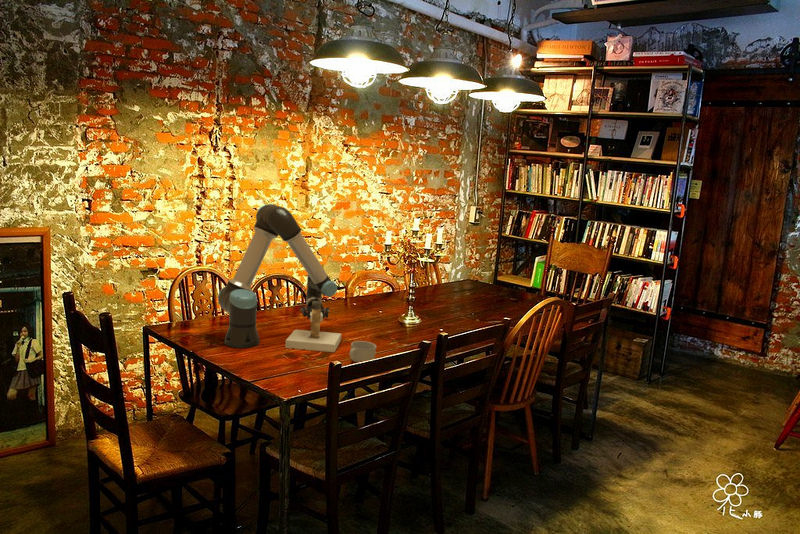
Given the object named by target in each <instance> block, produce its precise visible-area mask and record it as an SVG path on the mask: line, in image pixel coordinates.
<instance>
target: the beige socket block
mask: <svg viewBox="0 0 800 534" xmlns="http://www.w3.org/2000/svg"><path fill="white" fill-rule="evenodd" d="M310 335H311V330H306V329H294V330H293V331H292V333H291V334H290V335H289V336H288V337H287V338H286V339H285V347H284V348H286V349H292V348H294V349H296V350H303V349H305V350H304V351H307V350H308V351H315V352H317V351H318V352H325V353H335V352H336V351H337V348H338V346H339V345H340V343H341V341H342V333H340V332H339V333H338V332H327V331H320V332H319V337H311V336H310Z"/></svg>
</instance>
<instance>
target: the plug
mask: <svg viewBox="0 0 800 534" xmlns="http://www.w3.org/2000/svg"><path fill="white" fill-rule="evenodd" d="M320 315H321V302H320V301H313V302H312V322H311V323H310V331H311V335H310V336H311V337H319V332H321V331H320V329H321V328H320V327H321V320H320Z"/></svg>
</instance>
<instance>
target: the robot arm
mask: <svg viewBox="0 0 800 534" xmlns="http://www.w3.org/2000/svg"><path fill="white" fill-rule="evenodd" d="M255 218H256V220H255V224H254V225H253V229H254V234H253V236H252V237H251V240H250V242H249V244H248V247H247V248H246V251H245V253H244V255H243V257H242V259H241V261H240V262H239V263H240V264H239V266H238V267H237V269H236V272H235V274H234V275H233V278H231V279H228V281H227V283H226V285H225V286H224V287H222V288H221V290H219V292H218V294H217V295H218V296H217V301H218V304H219V305H220V308H222V310H223V311H225V312H226V313H228V315H229V317H228V318H229V321H228V322H229V325H228V329H227V332H226V333H225V335H224V336H225V338H224V345H226V346H228V347H230V348H237V349H246V348H248V349H249V348H253V347H257V346H259V345H260V335H259V332H258V329H257V307H258V305H257V304H258V300H257V293H256V292H254V291H253V289H252V284H253V282H254V280H255V277H256V275H257V273H258V270H259V269H260V267H261V265H262V262H263V261H264V258H265V256H266V254H267V252H268V250H269V248H270V247H271V246H270V245H271V244H272V242H273V240H274V239H277V238H278V236H279V237H280V238H281V240H282V241H283V242H286V243H287V245H288V246H289V248H290V250H292V252H293V254H294V255H295V256H296V258H297V260H298V261H299V263H300V264H301V266H302V267H303V269H304V270H305V272H306V273H307V278H306V279H307V280H306V281H307V282H306V297H305V303H306V307H305V306H300V312H301V313H302V316H303V317H304V318H307V320H309V321H310V322H312V302H313V301H320V302H321V315H320V323H322V322H323V319H325V318H326V319H327V318H329V313H330V307H324V305H323V302H322V298H323V297H322V296H324V297H329V298H330V297H333V296H334V295H335V294H336V293H337V291H338V285H337V284H336V282H334V281H333V280H332V279H331V278H330V276H329V275H328V273H327V272H326V270H325V269H324V267H323V265H322V264H321V263H320V260H318V258H317V256H316V255H315V253H314V251H313V250H312V249H311V246H310V245H309V243H308V242H307V241H306V239H305V238H304V236H303V234H302V228H301V227H300V226H299V224H298V222H297V221H296V219H295V217H294V216H293V215H292V213H291V211H290V210H288V209H287V208H285V207H284V206H283V207H282V206H279V205H276V204H273V203H270V204H265V205H262V206H260V207H259V208H258V210H257V211H256V215H255Z"/></svg>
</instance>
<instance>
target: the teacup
mask: <svg viewBox="0 0 800 534" xmlns="http://www.w3.org/2000/svg"><path fill="white" fill-rule="evenodd" d="M350 345H351V346H350V350H349V357H350V359H351V360H352V361H353V362H354V363H355V362H360V361H366V360H371V359H374V360H375V358H376V357H375V356H376V352H377V351H376V350H377V345H376V344H375V343H373V342H369V341H366V340H365V341H364V340H355V341H352V342H351V344H350Z"/></svg>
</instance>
